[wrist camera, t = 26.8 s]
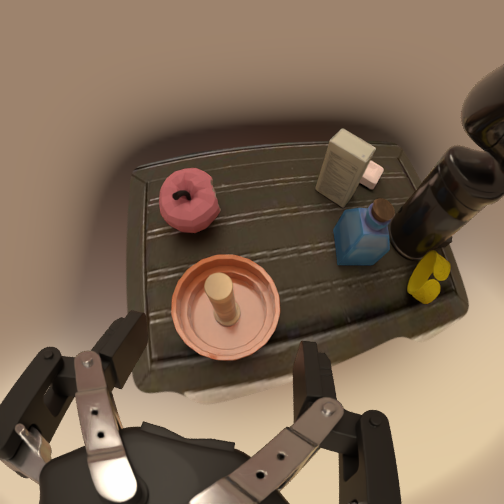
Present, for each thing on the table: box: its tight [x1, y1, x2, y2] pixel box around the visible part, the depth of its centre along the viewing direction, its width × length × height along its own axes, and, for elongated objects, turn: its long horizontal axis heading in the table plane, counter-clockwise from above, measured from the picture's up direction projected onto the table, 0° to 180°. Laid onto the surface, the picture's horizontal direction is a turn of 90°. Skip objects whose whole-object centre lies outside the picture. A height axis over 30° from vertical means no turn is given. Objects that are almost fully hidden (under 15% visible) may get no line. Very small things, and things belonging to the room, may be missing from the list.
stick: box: [204, 273, 241, 327], centre depth 31 cm, size 4×4×14 cm
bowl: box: [171, 255, 280, 361], centre depth 36 cm, size 13×13×6 cm
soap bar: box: [360, 160, 383, 189], centre depth 48 cm, size 5×9×2 cm, turn 54°
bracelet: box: [407, 250, 451, 304], centre depth 37 cm, size 7×8×3 cm
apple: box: [159, 168, 221, 233], centre depth 40 cm, size 10×9×10 cm
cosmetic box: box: [315, 129, 376, 208], centre depth 42 cm, size 6×4×12 cm
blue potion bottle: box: [333, 198, 395, 265], centre depth 38 cm, size 6×6×12 cm
